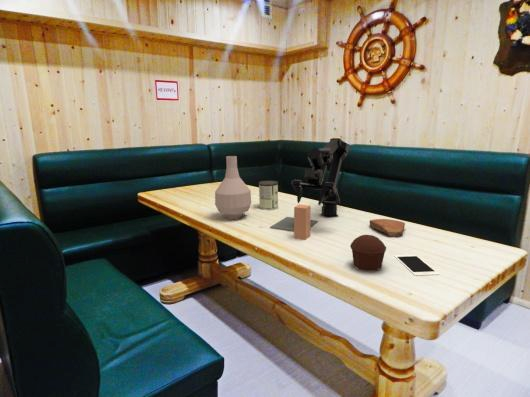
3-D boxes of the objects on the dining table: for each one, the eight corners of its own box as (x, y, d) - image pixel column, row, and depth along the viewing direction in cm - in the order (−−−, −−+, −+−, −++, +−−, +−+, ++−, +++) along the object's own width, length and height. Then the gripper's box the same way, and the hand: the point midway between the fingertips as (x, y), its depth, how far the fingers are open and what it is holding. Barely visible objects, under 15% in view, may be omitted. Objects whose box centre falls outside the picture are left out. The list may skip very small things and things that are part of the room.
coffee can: (260, 205, 199) (259, 180, 196) (278, 205, 198) (278, 180, 195) (258, 210, 189) (257, 184, 186) (277, 210, 188) (277, 184, 185)
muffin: (391, 272, 112) (393, 242, 110) (356, 274, 111) (357, 243, 109) (376, 257, 124) (378, 230, 121) (345, 259, 123) (346, 231, 120)
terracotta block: (298, 234, 149) (299, 204, 146) (310, 236, 147) (310, 205, 144) (294, 238, 145) (294, 207, 142) (305, 239, 143) (305, 208, 140)
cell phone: (414, 277, 109) (415, 275, 109) (393, 256, 125) (393, 255, 125) (439, 276, 110) (439, 274, 110) (415, 256, 125) (415, 254, 125)
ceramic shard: (367, 223, 146) (369, 218, 160) (368, 238, 146) (370, 232, 160) (405, 221, 141) (404, 216, 155) (407, 237, 141) (405, 231, 155)
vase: (209, 216, 179) (206, 156, 172) (239, 210, 189) (237, 153, 182) (227, 224, 165) (224, 159, 158) (258, 217, 175) (257, 156, 168)
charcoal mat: (286, 217, 174) (286, 216, 174) (318, 221, 166) (318, 220, 166) (270, 228, 158) (270, 227, 158) (303, 232, 151) (303, 231, 151)
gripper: (292, 161, 154) (282, 191, 147) (334, 163, 145) (325, 194, 138) (299, 176, 162) (290, 205, 155) (339, 179, 154) (331, 209, 147)
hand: (308, 203), depth 149 cm, fingers open, 9 cm apart
